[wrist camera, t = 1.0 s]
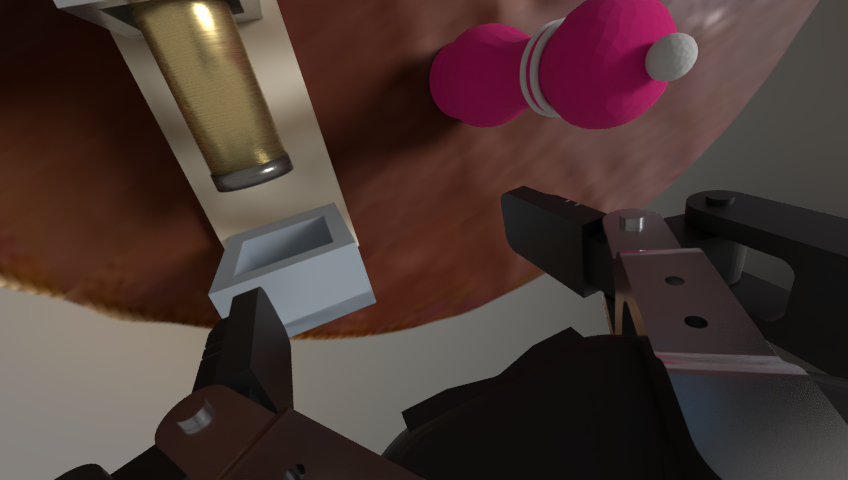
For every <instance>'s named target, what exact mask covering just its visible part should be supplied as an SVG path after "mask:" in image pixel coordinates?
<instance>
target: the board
mask: <svg viewBox="0 0 848 480" xmlns="http://www.w3.org/2000/svg"><path fill="white" fill-rule="evenodd" d="M260 5H261V9H262V14H263V19H259V20H254V21H248V22H243V23H238V24H236V25H237V27H238V30H239V32H240V35H241V38H242V40H243V43H244V45H245V48H246V50H247V53H248V56H249V58H250V61H251V63H252V66H253V68H254V71H255V74H256V76H257V79H258V81H259V84H260V86H261V89H262V92H263V94H264V97H265V99H266V102H267V104H268V107H269V110H270V112H271V115H272V117H273V120H274V122H275V125H276V128H277V130H278V133H279V135H280V138H281V140H282V143H283V146H284V148H285V151H287V152H288V154H289V156H290V159H291V162H292V164H293V167H294V169H293V170H292V171H290V172H289V173H287V174H285V175H283V176H281V177H279V178H276V179H274V180H271V181H269V182H266V183H263V184H260V185H257V186H253V187H250V188H246V189H242V190H238V191H232V192H224V193H221V192H218V191H217V189H216V187H215V185H214V183H213V181H212V179H211V177H210V174H211V172H210V170H209V168H208V166H207V164H206V162H205V160H204V158H203V156H202V154H201V152H200V150H199V148H198V146H197V144H196V142H195V140H194V138H193V136H192V134H191V132H190V130H189V128H188V126H187V124H186V122H185V120H184V118H183V116H182V114H181V112H180V110H179V108H178V105H177V103H176V101H175V99H174V97H173V95H172V93H171V91H170V89H169V87H168V85H167V83H166V81H165V79H164V77H163V75H162V73H161V71H160V69H159V67H158V65H157V63H156V61H155V59H154V57H153V55H152V53H151V51H150V49H149V47H148V45H147V43H146V41H143V42H137V41H135V40H132V39H130V38H128V37H125V36H123V35H120V34H118V33H116V32H113V31H111V30H109V31H110V33H111V35H112V37H113V39H114V41H115V42H116V44H117V46H118V48H119V50H120V52H121V54H122V56H123V58H124V60H125V61H126V63H127V65H128V67H129V69H130V71H131V73H132V75H133V77H134V79H135V80H136V82H137V84H138V86H139V88H140V90H141V92H142V94H143V96H144V97H145V99H146V101H147V103H148V105H149V107H150V109H151V111H152V113H153V115H154V116H155V118H156V120H157V122H158V124H159V126H160V128H161V130H162V132H163V134H164V135H165V137H166V139H167V141H168V143H169V145H170V147H171V149H172V151H173V153H174V154H175V156H176V158H177V160H178V162H179V164H180V166H181V168H182V170H183V172H184V173H185V175H186V177H187V179H188V181H189V183H190V185H191V187H192V189H193V190H194V192H195V194H196V196H197V198H198V200H199V202H200V204H201V206H202V208H203V209H204V211H205V213H206V215H207V217H208V219H209V221H210V223H211V225H212V227H213V228H214V230H215V232H216V234H217V236H218V238H219V240H220V242H221V244H222V246H223V247H224V249H225V248H226V246H227V243H228V240H229V237H230V236H232V235H235V234H238V233H241V232H244V231H247V230H250V229H253V228H256V227H259V226H262V225H266V224H269V223H272V222H275V221H278V220H281V219H284V218H287V217H290V216H293V215H296V214H299V213H303V212H306V211H309V210H312V209H315V208H318V207H321V206H324V205H327V204H330V203H333V202H334V203H335V204H336V206H337V208H338V210H339V212H340V214H341V216H342V217H343V219H344V221H345V223H346V225H347V227H348V229H349V230H350V232H351V234H352V236H353V238H354V240H355V242H356V244H357V246H359V243H358V240H357V238H356V235H355V232H354V229H353V226H352V223H351V220H350V217H349V214H348V211H347V208H346V205H345V202H344V199H343V196H342V193H341V190H340V187H339V184H338V181H337V178H336V175H335V172H334V170H333V167H332V164H331V161H330V158H329V155H328V152H327V149H326V146H325V143H324V140H323V137H322V134H321V131H320V128H319V125H318V122H317V119H316V116H315V113H314V110H313V107H312V104H311V102H310V99H309V96H308V93H307V90H306V87H305V84H304V81H303V78H302V75H301V72H300V69H299V66H298V63H297V60H296V57H295V54H294V51H293V48H292V45H291V42H290V39H289V36H288V33H287V31H286V28H285V25H284V22H283V19H282V16H281V13H280V10H279V7H278V4H277V1H276V0H260Z"/></svg>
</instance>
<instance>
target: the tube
mask: <svg viewBox="0 0 848 480" xmlns="http://www.w3.org/2000/svg"><path fill="white" fill-rule="evenodd" d="M128 6H129V8H130V10H131V12H132V14H133V16H134V18H135V20H136V22H137V24H138V26H139V28H140V31H141V33H142V35H143V37H144V39H145V41H146V43H147V45H148V47H149V49H150V51H151V53H152V55H153V57H154V59H155V61H156V63H157V65H158V67H159V69H160V71H161V73H162V75H163V77H164V79H165V81H166V83H167V85H168V87H169V89H170V91H171V93H172V95H173V97H174V99H175V101H176V103H177V105H178V108H179V110H180V112H181V114H182V116H183V118H184V120H185V122H186V124H187V126H188V128H189V130H190V132H191V134H192V136H193V138H194V140H195V142H196V144H197V146H198V148H199V150H200V152H201V154H202V156H203V158H204V160H205V162H206V164H207V166H208V168H209V170H210V172H211V174H210V177H211V179H212V181H213V183H214V185H215V187H216V189H217V191H218V192H221V193H224V192H232V191H238V190H242V189H246V188H250V187H253V186H257V185H260V184H263V183H266V182H269V181H271V180H274V179H276V178H279V177H281V176H283V175H285V174H287V173H289V172H290V171H292V170H293V169H294V167H293V164H292V162H291V159H290V156H289V154H288V152H287V151H285V148H284V146H283V143H282V140H281V138H280V135H279V133H278V130H277V128H276V125H275V122H274V120H273V117H272V115H271V112H270V110H269V107H268V104H267V102H266V99H265V97H264V94H263V92H262V89H261V86H260V84H259V81H258V79H257V76H256V74H255V71H254V68H253V66H252V63H251V61H250V58H249V56H248V53H247V50H246V48H245V45H244V43H243V40H242V38H241V35H240V32H239V30H238V27H237V25H236V22H235V20H234V17H233V14H232V12H231V9H230V7H229V4H228V2H227V0H150V1H144V2H138V3H132V4H128Z"/></svg>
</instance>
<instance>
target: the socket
mask: <svg viewBox="0 0 848 480" xmlns="http://www.w3.org/2000/svg"><path fill="white" fill-rule="evenodd" d="M259 286H260V287H262V288H263V289H264V291H265V292H266V294H267V296H268V297H269V299H270V301H271V303H272V305H273V307H274V309H275V310H276V312H277V314H278V316H279V318H280V320H281V322H282V323H283V325H284V327H285V329H286V332H287V334H288V337H292V336H294V335H297V334H299V333H302V332H304V331H307V330H309V329H312V328H314V327H317V326H319V325H322V324H324V323H327V322H329V321H331V320H334V319H336V318H339V317H341V316H344V315H346V314H349V313H351V312H354V311H356V310H359V309H361V308H364V307H366V306H369V305H371V304H374V303H376V300H375V297H374V294H373V291H372V288H371V285H370V282H369V279H368V276H367V274H366V271H365V268H364V265H363V262H362V259H361V256H360V253H359V250H358V247H357V244H356V242H355V240H354V238H353V236H352V234H351V232H350V230H349V229H348V227H347V225H346V223H345V221H344V219H343V217H342V216H341V214H340V212H339V210H338V208H337V206H336V204H335V203H334V202H333V203H330V204H327V205H324V206H321V207H318V208H315V209H312V210H309V211H306V212H303V213H299V214H296V215H293V216H290V217H287V218H284V219H281V220H278V221H275V222H272V223H269V224H266V225H262V226H259V227H256V228H253V229H250V230H247V231H244V232H241V233H238V234H235V235H232V236H230V237H229V240H228V243H227V246H226V248H225V251H224V254H223V256H222V259H221V262H220V264H219V267H218V270H217V272H216V275H215V278H214V281H213V283H212V286H211V289H210V291H209V294H208V295H209V297H210V299H211V300H212V302H213V304H214V306H215V307H216V309H217V311H218V312H219V314H220V316H221V317H222V319H223V318H226V317H228V316H229V312H230V307H231V303H232V299H233V297H234V296H236V295H238V294H241V293H244V292H246V291H249V290H252V289H254V288H257V287H259Z"/></svg>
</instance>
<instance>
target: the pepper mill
mask: <svg viewBox="0 0 848 480" xmlns="http://www.w3.org/2000/svg"><path fill="white" fill-rule="evenodd" d="M697 54H698V48H697V44H696V42H695V41H694V39H693V38H692V37H690V36H689V35H687V34H684V33H677V30H676V26H675V23H674V21H673V19H672V17H671V15H670V13H669V11H668V9H667V8H666V7H665V6H664V5H663V4H662V3H661V2H660V1H658V0H587V1H584V2H583V3H582V4H581V5H579V6H578V7H577V8H576V9H574V10H573V11H572V12H571V13H569V14H568V16H567V17H565V18H562V19H560V20H555V21H551V22H549V23H547V24H545V25H544V26H542V27H541V28H540V29H539V30H538V31H536V33H535V34H534V35H533V36H532V37H529V36H528V35H526V34H524V33H523V32H521V31H520V30H518V29H516V28H514V27H511V26H507V25H503V24H498V23H489V24H484V25H478V26H475V27H472V28H470V29H468V30H467V31H465V32H464V33H462V34H461V35H460V36H459V37H458V38H457V39H456V40H455V41H454V42H452V43H449V44H448V45H446V46H445V47H444V48H443V49H441V50H440V52H439V53H438V54H437V56H436V57H435V59H434V61H433V63H432V66H431V70H430V76H429V84H430V91H431V94H432V97H433V100H434V102H435V103H436V105H437V106H438V108H439V109H440V110H441V111H442V112H443V113H445V114H446V115H448V116H450V117H453V118H457V119H460V120H461V121H463V122H464V123H467V124H469V125H471V126H475V127H494V126H498V125H501V124H504V123H506V122H508V121H510V120H512V119H514V118H516V117H517V116H519V115H520V114H521V113H522V112H524V111H525V110H526V109H528V108H529V107H531V108H532V109H533V110H534V111H536V112H537V113H539V114H541V115H544V116H548V117H562V118H563V119H564V120H565V121H567V122H569V123H570V124H572V125H575V126H578V127H581V128H586V129H606V128H612V127H616V126H620V125H622V124H625V123H627V122H630V121H631V120H633V119H635V118H637V117H639V116H640V115H641V114H643V113H644V112H645V111H646V110H647V109H649V108H650V107H651V106H652V105H653V104H654V103H655V102H656V101H657V100H658V98H659V97H660V96H661V94H662V93H663V91H664V90H665V88H666V86H667V84H668V83H669V81H672V80H676V79H678V78H680V77H681V76H683V75H685V74H686V73H687V72H688V71H689V70H690V69H691V67H692V66H693V64H694V63H695V61H696V59H697Z"/></svg>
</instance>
